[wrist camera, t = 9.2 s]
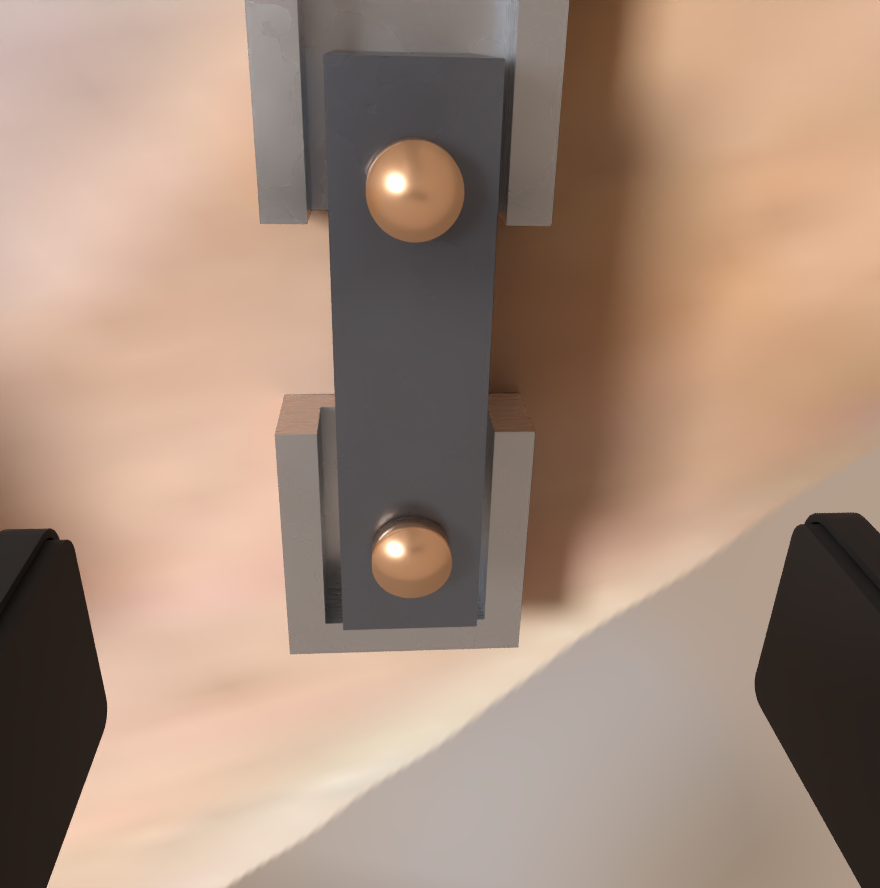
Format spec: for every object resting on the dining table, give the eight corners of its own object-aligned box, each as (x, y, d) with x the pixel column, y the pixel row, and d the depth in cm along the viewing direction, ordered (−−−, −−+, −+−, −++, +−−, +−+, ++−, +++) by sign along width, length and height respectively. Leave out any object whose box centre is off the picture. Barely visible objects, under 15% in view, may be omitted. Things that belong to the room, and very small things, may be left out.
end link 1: (251, -128, 21) (234, -153, 18) (554, -116, 21) (580, -138, 19) (272, 203, 24) (260, 223, 22) (532, 205, 25) (551, 226, 22)
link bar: (334, 50, 22) (320, 55, 16) (472, 53, 22) (510, 59, 16) (348, 515, 28) (342, 647, 22) (456, 513, 28) (479, 643, 22)
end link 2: (284, 395, 27) (275, 434, 24) (519, 393, 27) (535, 431, 25) (297, 599, 30) (289, 654, 28) (505, 594, 31) (518, 647, 28)
